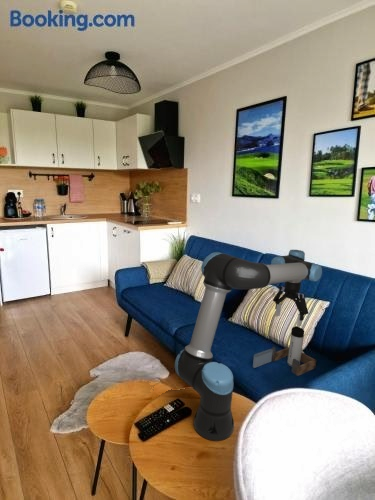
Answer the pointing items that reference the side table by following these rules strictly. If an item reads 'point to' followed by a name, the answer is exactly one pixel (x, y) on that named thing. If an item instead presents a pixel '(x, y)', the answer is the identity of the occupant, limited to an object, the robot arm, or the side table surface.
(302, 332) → the travel mug
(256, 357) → the grey rectangular panel
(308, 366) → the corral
